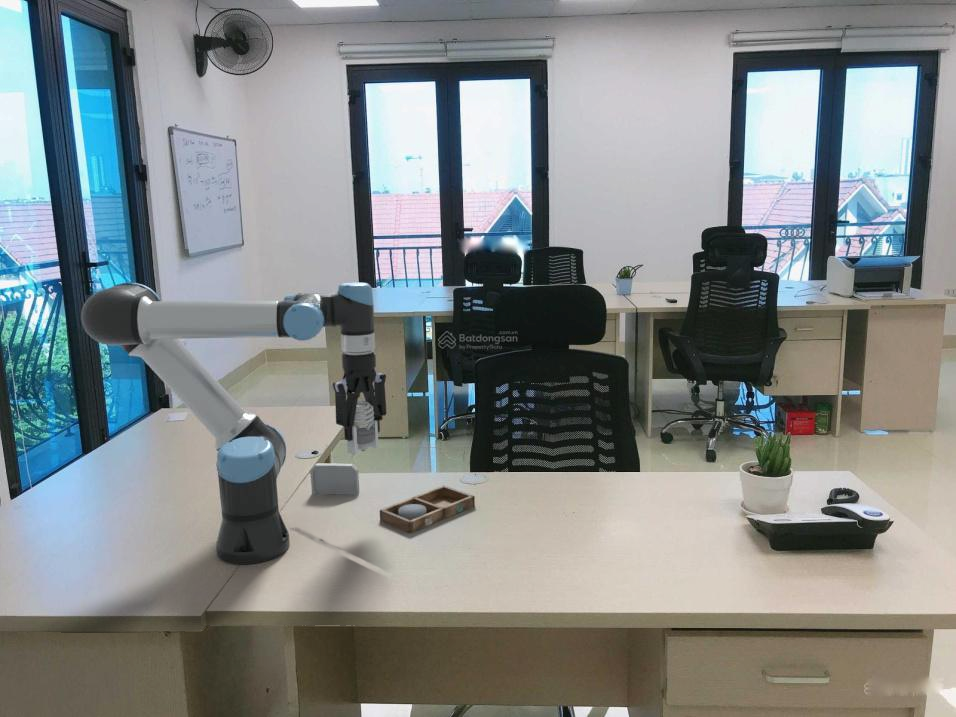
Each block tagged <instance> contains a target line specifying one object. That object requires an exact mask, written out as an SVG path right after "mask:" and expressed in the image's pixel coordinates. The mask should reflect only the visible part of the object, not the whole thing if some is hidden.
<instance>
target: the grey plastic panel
mask: <svg viewBox="0 0 956 717" xmlns="http://www.w3.org/2000/svg"><path fill="white" fill-rule="evenodd" d="M309 472H310V483H311V484H310V486H311V494H312V495H318V494H324V495H325V494H326V495H329V494H331V495H332V494H333V495H335V494H336V495H352V496H358V495H359V494H360V477H359V468H358V467H357V466H356V465H355V464H354V463H338V462H336V463H335V462H334V463H333V462H332V463H328V462H326V463H324V462H323V463H321V462H319V463H318V462H317V463H316V464H314V466H312V467H311V468H310V471H309Z"/></svg>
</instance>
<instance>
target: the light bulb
mask: <svg viewBox="0 0 956 717" xmlns="http://www.w3.org/2000/svg"><path fill="white" fill-rule="evenodd" d="M369 407H370V408H369ZM370 412H371V413H370ZM373 419H374V411H373V406H372V405H371V404H369V403H368V402H367V401H366V400H359V401H357V406H356V412H355V418H354V424H353V426H356V429H357V449H359V450H360V451H362V452H365V451H367V450H369V448H370V446H369V443H371V442H373V441H374V428H373V427H371V426H372V424H373ZM369 422H370V424H369V426H368V423H369Z"/></svg>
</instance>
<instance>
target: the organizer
mask: <svg viewBox="0 0 956 717" xmlns="http://www.w3.org/2000/svg"><path fill="white" fill-rule="evenodd" d="M475 502H476V500H475V495H473V494H470V493H467V492H463V491H461V490H458V489H456V488H452V487H449V486H447V485H441V486H438V487H435V488H433V489H431V490H428V491H425V492H424V493H420V494H418V495H415V496H412V497H410V498H407V499H404V500H402V501H399V502H397V503H394V504H392V505H390V506H387V507H384V508H382V509H379V521H381V522H383V523H385V524H387V525H389V526H393V527H395V528H396V529H399V530H402V531H404V532H407V533H409V534H413V533H415V532H417V531H420V530H422V529H424V528H426V527H429V526H431V525H434V524H436V523H439V522H441V521H443V520H445V519H448V518H450V517H453V516H455V515H457V514H459V513H462V512H464V511H466V510H468V509H472V508H474V507H475V504H476V503H475ZM409 504H419V505H423V506H425V507H426V514H425V515H422V516H420V517H418V518H415V519H413V520H408V519H406V518H403V517H401V516H399V514H398V510H399V508H400V507H402V506H405V505H409Z"/></svg>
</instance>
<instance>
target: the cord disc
mask: <svg viewBox="0 0 956 717" xmlns="http://www.w3.org/2000/svg"><path fill="white" fill-rule="evenodd" d="M398 514H399V516H401V517H403V518H406V519H408V520H413V519H415V518H418V517H420V516H422V515H425V514H426V507H425V506H423V505H419V504H409V505H405V506H402V507H400V508H399V510H398Z"/></svg>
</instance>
